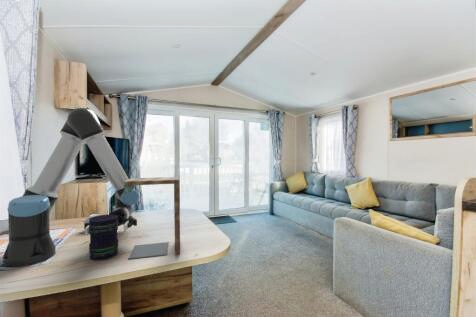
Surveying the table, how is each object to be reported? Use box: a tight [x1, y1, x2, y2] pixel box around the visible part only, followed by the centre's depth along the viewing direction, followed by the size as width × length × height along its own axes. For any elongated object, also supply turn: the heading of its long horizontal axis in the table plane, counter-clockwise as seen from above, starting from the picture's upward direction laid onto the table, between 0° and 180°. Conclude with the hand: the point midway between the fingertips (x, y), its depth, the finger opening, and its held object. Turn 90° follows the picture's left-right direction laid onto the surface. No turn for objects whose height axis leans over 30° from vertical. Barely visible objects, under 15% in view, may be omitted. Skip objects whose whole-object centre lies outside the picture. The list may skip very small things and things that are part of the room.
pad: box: [127, 241, 169, 260], centre depth 94 cm, size 14×13×1 cm
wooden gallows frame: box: [124, 176, 181, 256], centre depth 94 cm, size 20×14×30 cm
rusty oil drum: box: [88, 213, 119, 262], centre depth 90 cm, size 10×10×15 cm
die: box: [83, 213, 101, 225], centre depth 122 cm, size 8×9×10 cm
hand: (105, 230), depth 90 cm, fingers open, 13 cm apart
